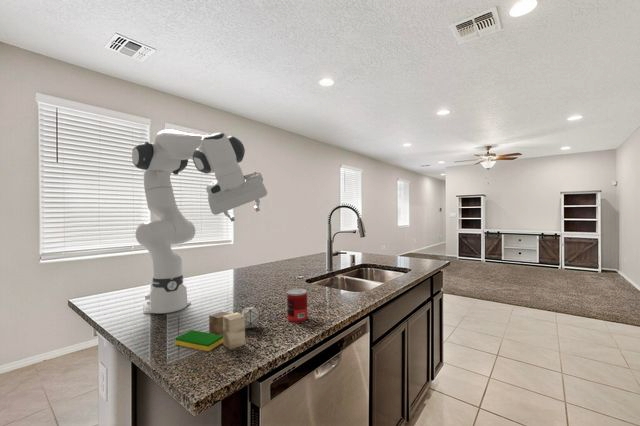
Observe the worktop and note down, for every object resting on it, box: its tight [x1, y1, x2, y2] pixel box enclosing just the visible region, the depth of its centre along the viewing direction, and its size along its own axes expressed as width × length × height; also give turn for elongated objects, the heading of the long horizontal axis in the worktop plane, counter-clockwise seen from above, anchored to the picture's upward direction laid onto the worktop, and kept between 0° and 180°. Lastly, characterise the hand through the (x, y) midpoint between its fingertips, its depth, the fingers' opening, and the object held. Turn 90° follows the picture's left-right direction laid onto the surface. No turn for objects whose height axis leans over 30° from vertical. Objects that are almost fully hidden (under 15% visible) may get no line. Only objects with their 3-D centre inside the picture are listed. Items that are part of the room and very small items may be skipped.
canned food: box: [286, 288, 308, 324], centre depth 114 cm, size 8×8×11 cm
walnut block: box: [208, 310, 230, 335], centre depth 103 cm, size 5×5×6 cm
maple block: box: [222, 312, 246, 350], centre depth 93 cm, size 5×5×9 cm
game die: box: [240, 304, 263, 330], centre depth 105 cm, size 9×8×10 cm
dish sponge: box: [174, 329, 223, 352], centre depth 94 cm, size 7×14×2 cm, turn 68°
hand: (245, 215), depth 105 cm, fingers open, 8 cm apart
